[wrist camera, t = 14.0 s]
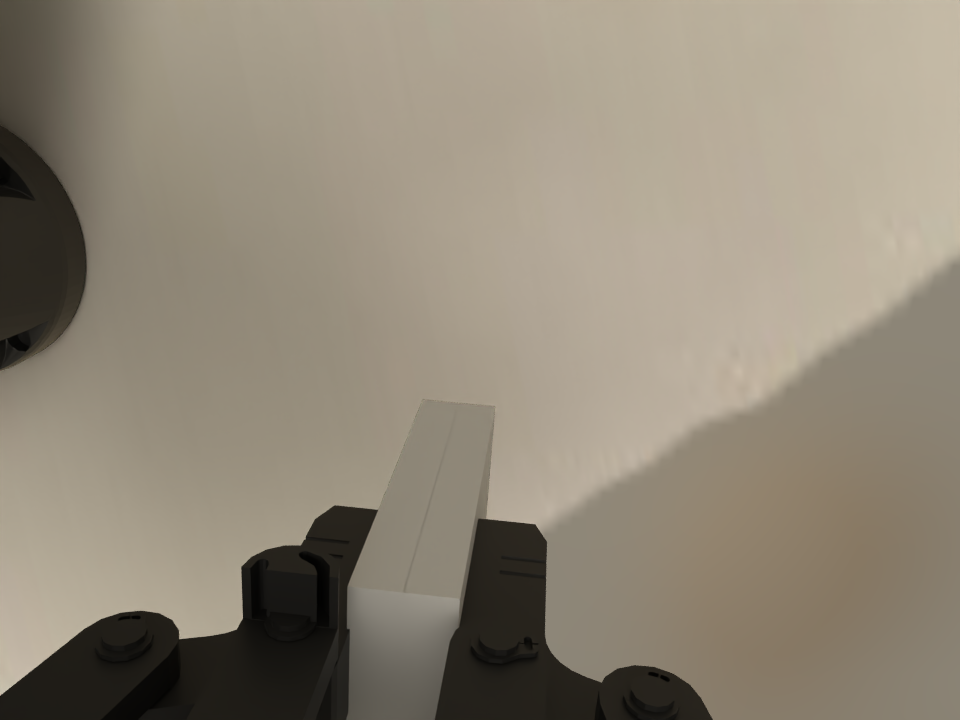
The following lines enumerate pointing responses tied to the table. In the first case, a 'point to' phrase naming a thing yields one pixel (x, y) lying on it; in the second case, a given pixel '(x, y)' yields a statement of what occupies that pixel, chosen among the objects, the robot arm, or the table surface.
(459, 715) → the robot arm
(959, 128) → the table surface
